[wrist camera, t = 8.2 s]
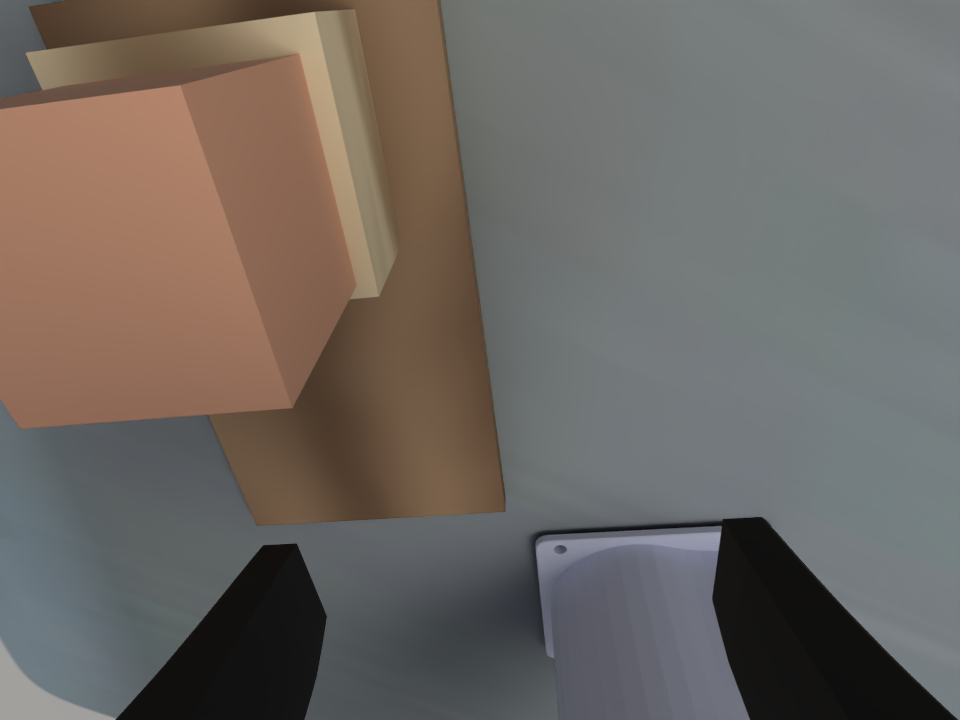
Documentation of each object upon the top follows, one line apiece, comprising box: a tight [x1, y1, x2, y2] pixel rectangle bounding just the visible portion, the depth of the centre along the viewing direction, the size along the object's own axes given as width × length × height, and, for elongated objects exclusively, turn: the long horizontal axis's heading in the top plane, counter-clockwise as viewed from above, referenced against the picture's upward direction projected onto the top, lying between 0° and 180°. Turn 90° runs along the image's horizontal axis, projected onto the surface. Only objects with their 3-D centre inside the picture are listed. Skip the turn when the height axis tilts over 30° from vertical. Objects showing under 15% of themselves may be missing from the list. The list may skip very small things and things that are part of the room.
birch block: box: [26, 9, 401, 299], centre depth 15 cm, size 6×6×4 cm
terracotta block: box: [0, 54, 357, 429], centre depth 11 cm, size 5×5×5 cm
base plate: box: [29, 0, 505, 526], centre depth 19 cm, size 10×18×1 cm, turn 7°
